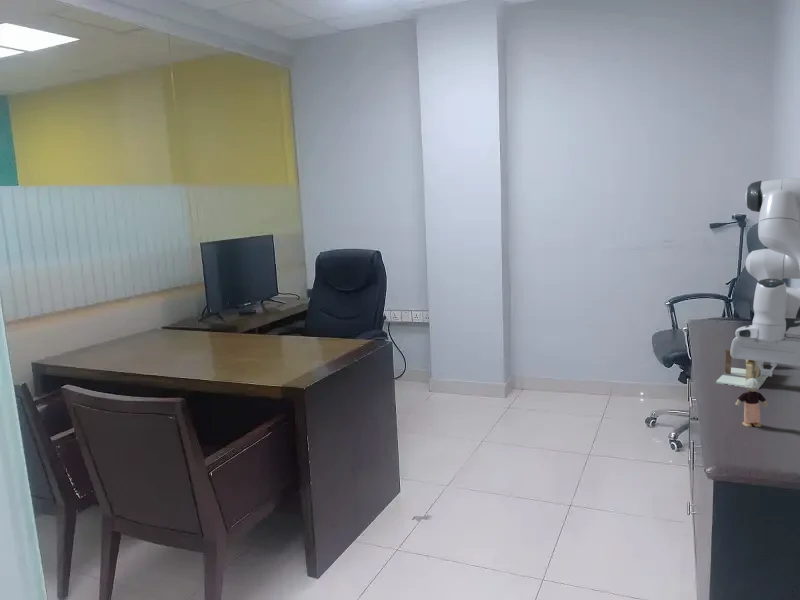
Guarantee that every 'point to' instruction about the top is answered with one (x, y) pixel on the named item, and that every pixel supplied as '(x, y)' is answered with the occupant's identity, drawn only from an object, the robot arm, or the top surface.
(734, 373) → the card
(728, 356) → the corner post
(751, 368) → the notched wooden plank
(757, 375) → the fence fixed
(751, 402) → the grandmother figurine
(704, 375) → the top surface
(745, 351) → the robot arm
